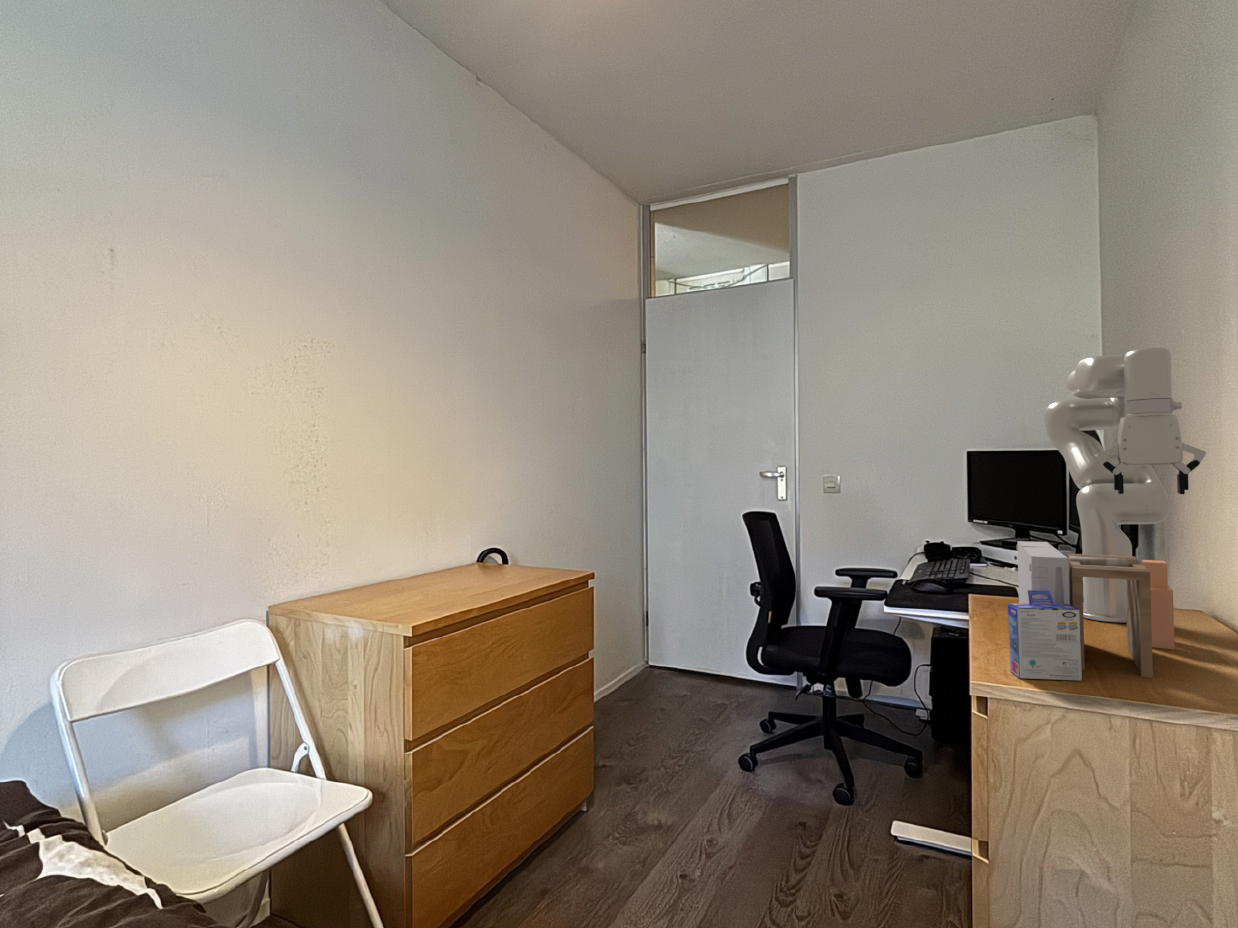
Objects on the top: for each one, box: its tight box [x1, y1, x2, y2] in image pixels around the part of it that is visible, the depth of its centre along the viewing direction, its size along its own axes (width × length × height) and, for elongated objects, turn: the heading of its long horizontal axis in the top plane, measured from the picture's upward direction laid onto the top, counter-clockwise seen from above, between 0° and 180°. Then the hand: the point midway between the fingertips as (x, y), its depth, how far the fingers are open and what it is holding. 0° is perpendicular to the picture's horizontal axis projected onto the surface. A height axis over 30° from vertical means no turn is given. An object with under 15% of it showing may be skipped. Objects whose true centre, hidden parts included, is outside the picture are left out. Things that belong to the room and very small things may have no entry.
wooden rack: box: [1067, 553, 1154, 679], centre depth 125 cm, size 22×11×19 cm, turn 148°
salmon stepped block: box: [1142, 559, 1175, 650], centre depth 135 cm, size 8×5×16 cm, turn 148°
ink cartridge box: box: [1007, 590, 1083, 682], centre depth 116 cm, size 10×6×14 cm, turn 78°
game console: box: [1016, 540, 1070, 605], centre depth 132 cm, size 6×27×20 cm, turn 154°
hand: (1150, 493), depth 135 cm, fingers open, 9 cm apart
